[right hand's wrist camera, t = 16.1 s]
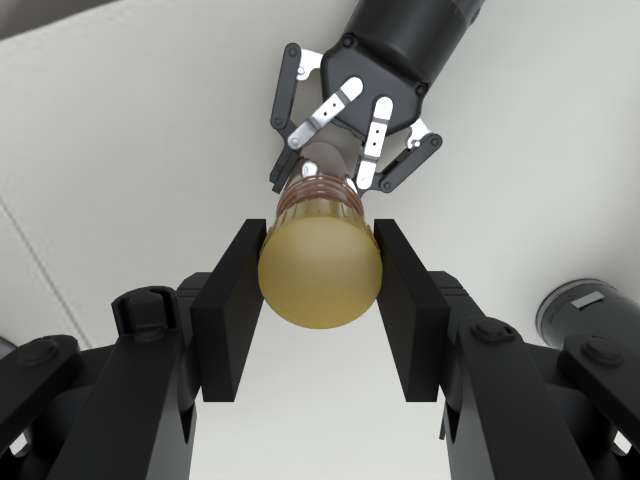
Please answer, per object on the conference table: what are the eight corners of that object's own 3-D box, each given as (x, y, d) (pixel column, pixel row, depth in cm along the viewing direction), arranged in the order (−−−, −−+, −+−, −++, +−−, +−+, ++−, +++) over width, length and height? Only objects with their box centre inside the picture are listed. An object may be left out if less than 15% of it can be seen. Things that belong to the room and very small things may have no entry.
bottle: (345, 185, 35) (389, 318, 13) (300, 191, 35) (268, 331, 13) (340, 138, 34) (380, 200, 12) (293, 145, 34) (242, 218, 12)
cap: (397, 253, 14) (411, 279, 12) (317, 317, 15) (317, 351, 13) (323, 173, 13) (323, 186, 11) (242, 249, 14) (228, 273, 12)
